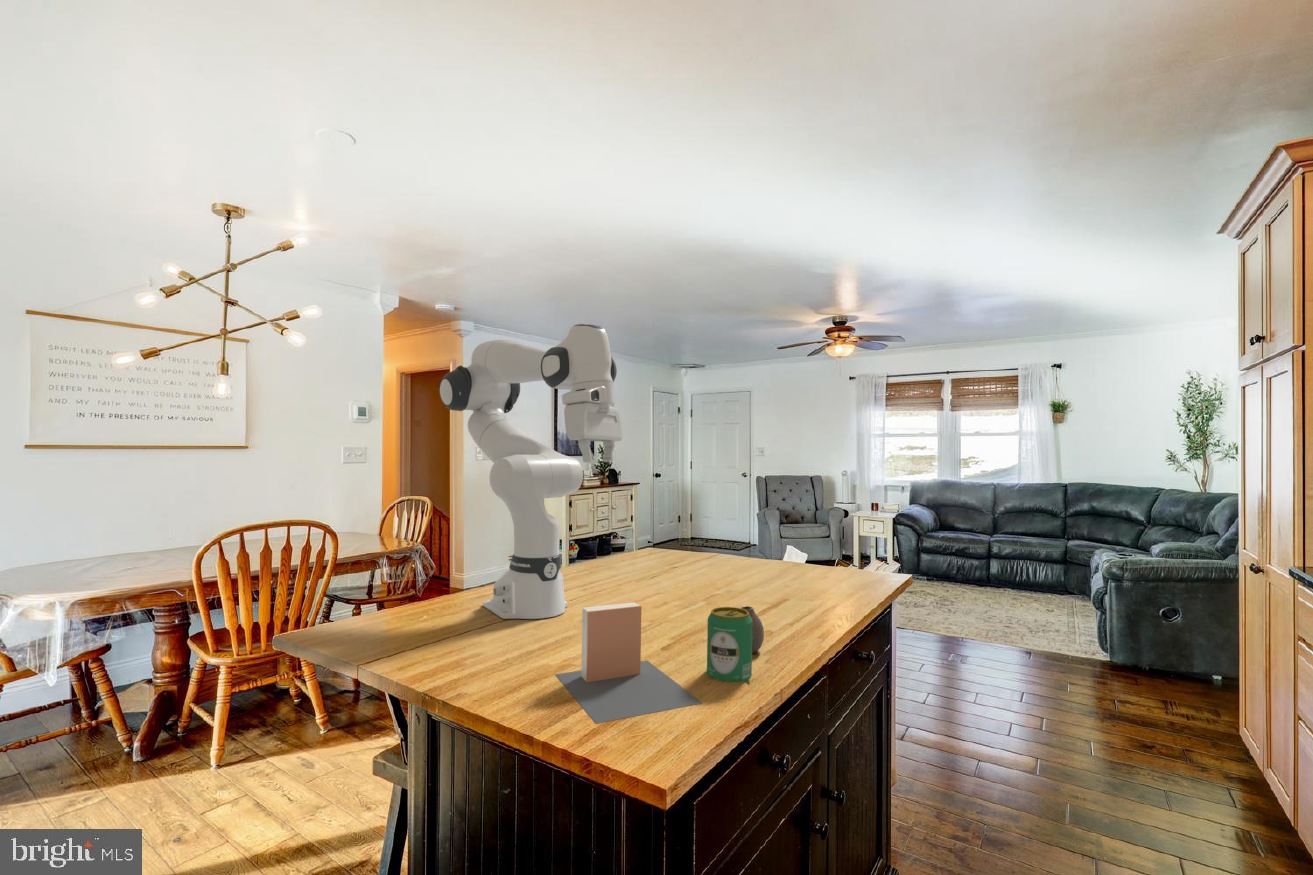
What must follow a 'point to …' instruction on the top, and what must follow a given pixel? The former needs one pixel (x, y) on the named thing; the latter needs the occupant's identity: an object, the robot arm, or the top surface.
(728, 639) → the beverage can
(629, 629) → the tile
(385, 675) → the top surface
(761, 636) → the vase
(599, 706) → the mat
